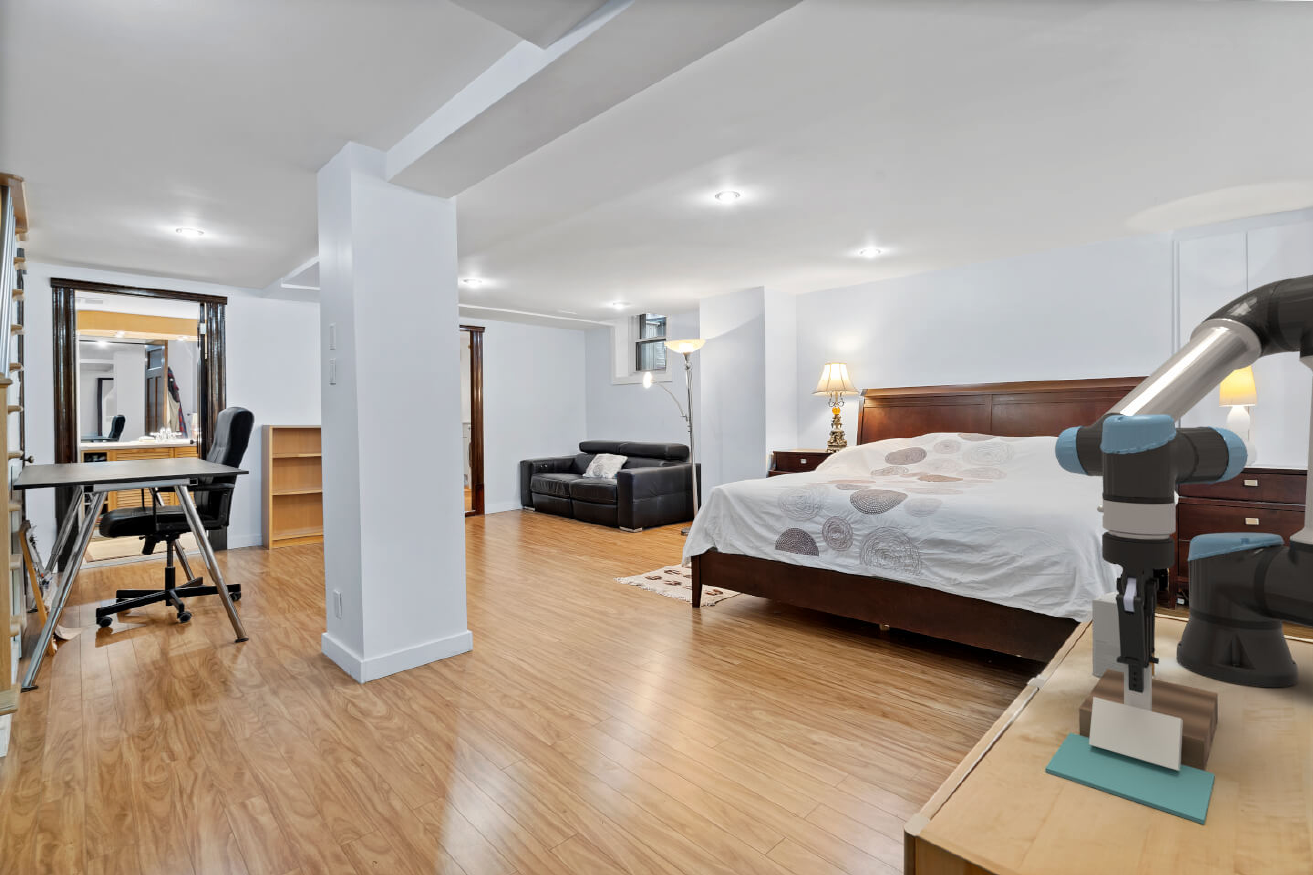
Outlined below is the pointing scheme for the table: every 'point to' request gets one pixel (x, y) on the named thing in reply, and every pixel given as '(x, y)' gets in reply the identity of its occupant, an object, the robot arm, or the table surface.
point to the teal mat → (1134, 778)
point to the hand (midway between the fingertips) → (1137, 712)
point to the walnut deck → (1166, 712)
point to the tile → (1136, 733)
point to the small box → (1107, 635)
